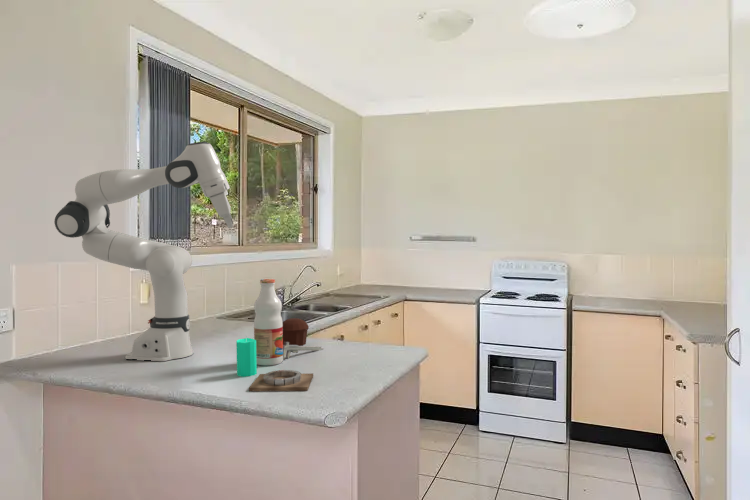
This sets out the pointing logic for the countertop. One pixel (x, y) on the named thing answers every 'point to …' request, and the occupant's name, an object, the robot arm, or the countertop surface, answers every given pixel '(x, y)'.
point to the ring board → (299, 386)
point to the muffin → (295, 331)
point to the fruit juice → (268, 325)
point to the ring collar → (271, 380)
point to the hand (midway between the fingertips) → (231, 225)
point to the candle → (246, 357)
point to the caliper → (297, 349)
